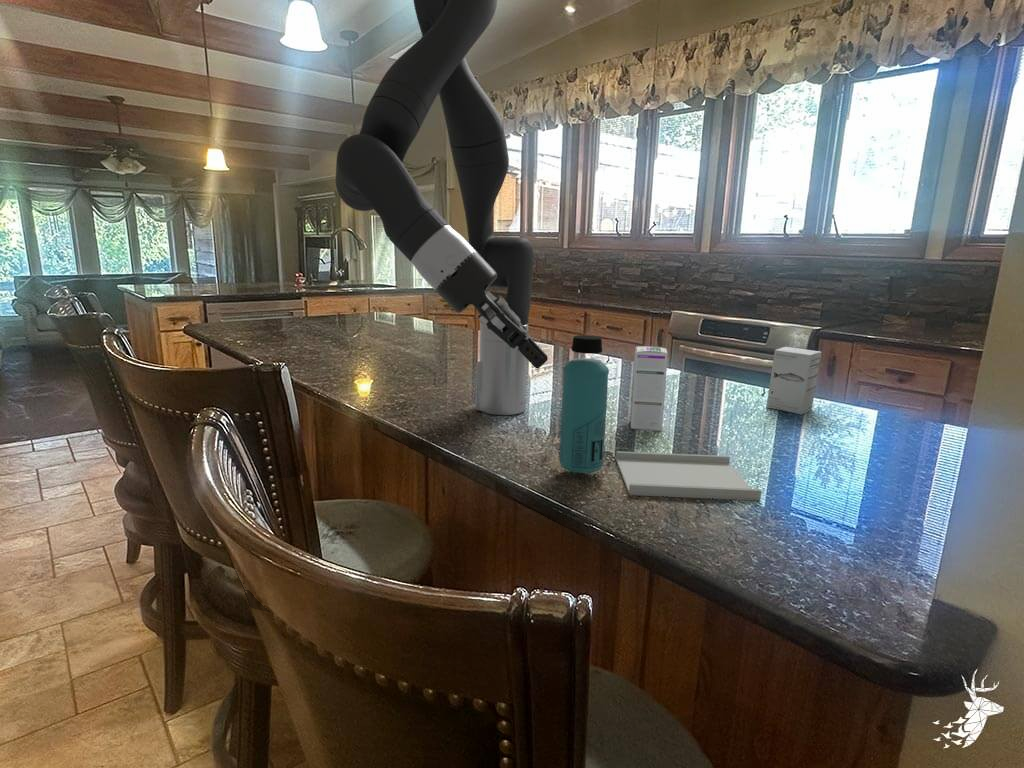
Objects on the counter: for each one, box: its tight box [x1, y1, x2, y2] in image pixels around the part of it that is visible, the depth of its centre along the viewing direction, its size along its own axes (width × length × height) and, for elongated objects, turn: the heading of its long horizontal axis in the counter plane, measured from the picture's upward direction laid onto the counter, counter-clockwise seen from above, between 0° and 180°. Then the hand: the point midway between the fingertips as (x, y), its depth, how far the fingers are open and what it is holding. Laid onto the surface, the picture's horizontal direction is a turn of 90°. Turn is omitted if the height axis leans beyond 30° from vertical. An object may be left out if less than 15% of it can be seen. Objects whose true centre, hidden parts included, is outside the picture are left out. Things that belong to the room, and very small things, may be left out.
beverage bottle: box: [557, 334, 610, 474], centre depth 79 cm, size 6×7×20 cm
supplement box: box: [766, 346, 823, 416], centre depth 119 cm, size 7×7×13 cm
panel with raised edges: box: [615, 450, 762, 502], centre depth 81 cm, size 17×13×1 cm
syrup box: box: [630, 345, 669, 432], centre depth 104 cm, size 6×6×14 cm
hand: (542, 363), depth 78 cm, fingers closed
